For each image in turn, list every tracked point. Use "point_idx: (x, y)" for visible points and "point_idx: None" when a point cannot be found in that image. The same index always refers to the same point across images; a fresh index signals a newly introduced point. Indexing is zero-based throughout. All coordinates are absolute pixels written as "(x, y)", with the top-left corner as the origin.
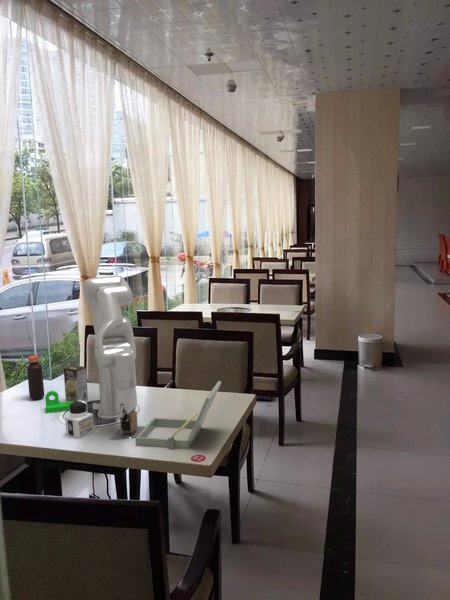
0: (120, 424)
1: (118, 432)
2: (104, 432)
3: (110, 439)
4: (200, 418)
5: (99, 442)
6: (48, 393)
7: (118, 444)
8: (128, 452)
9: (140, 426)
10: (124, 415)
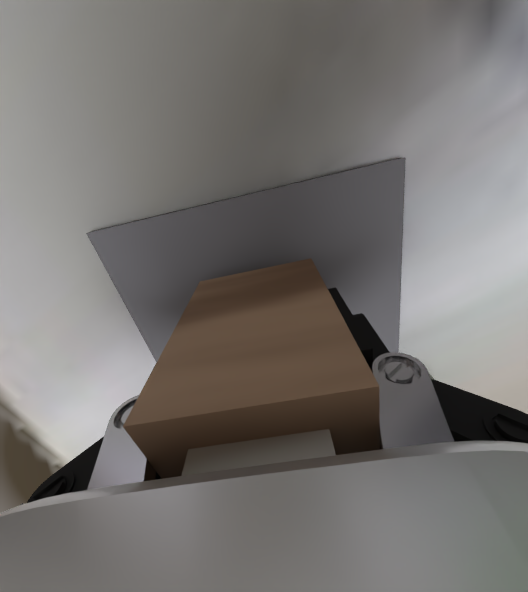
0: (179, 324)
1: (240, 220)
2: (203, 42)
3: (96, 245)
4: None
5: (12, 173)
6: None
7: (95, 329)
8: (64, 418)
9: (396, 314)
10: (165, 476)
